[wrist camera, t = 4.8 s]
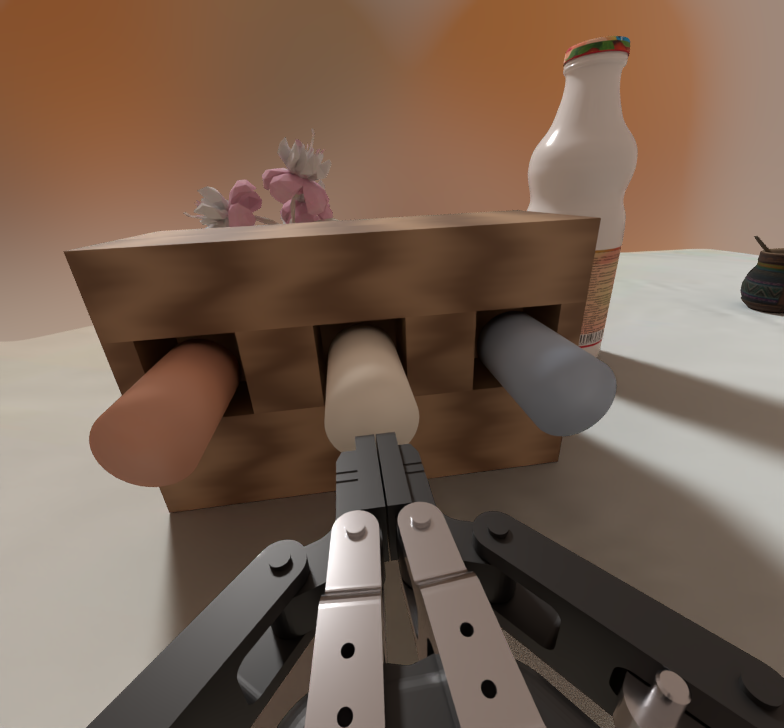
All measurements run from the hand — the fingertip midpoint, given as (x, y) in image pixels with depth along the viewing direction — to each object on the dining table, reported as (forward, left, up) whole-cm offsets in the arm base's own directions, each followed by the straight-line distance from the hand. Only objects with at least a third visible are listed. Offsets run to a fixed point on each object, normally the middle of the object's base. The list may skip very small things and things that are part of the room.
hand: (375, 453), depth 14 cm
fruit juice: (+7, +33, -9) cm, 35 cm away
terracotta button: (-10, 0, -2) cm, 11 cm away
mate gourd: (+35, +58, -9) cm, 68 cm away
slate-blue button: (+5, +9, -2) cm, 11 cm away
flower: (-30, +35, -9) cm, 47 cm away
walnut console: (-6, +11, -9) cm, 16 cm away
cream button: (-3, +5, -2) cm, 6 cm away
